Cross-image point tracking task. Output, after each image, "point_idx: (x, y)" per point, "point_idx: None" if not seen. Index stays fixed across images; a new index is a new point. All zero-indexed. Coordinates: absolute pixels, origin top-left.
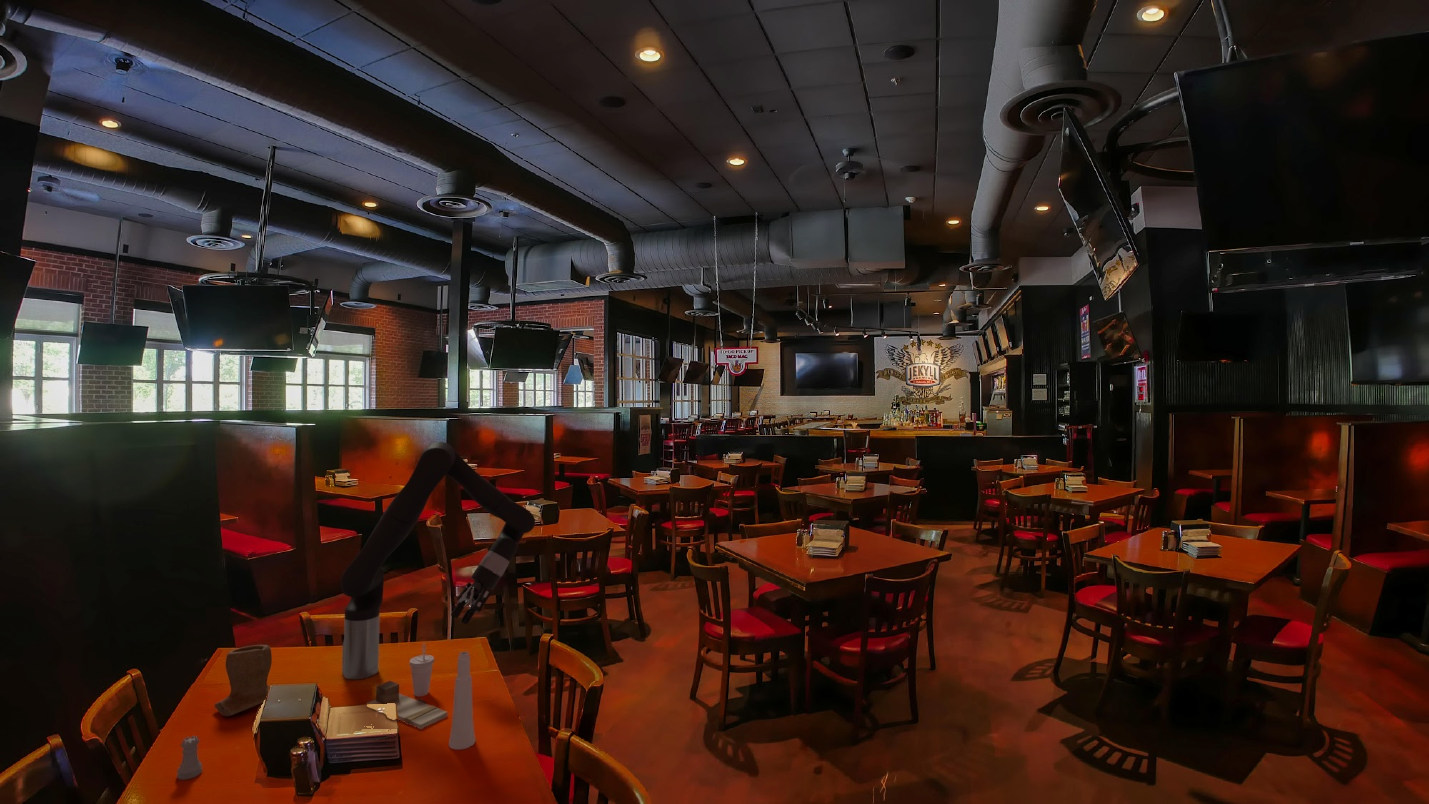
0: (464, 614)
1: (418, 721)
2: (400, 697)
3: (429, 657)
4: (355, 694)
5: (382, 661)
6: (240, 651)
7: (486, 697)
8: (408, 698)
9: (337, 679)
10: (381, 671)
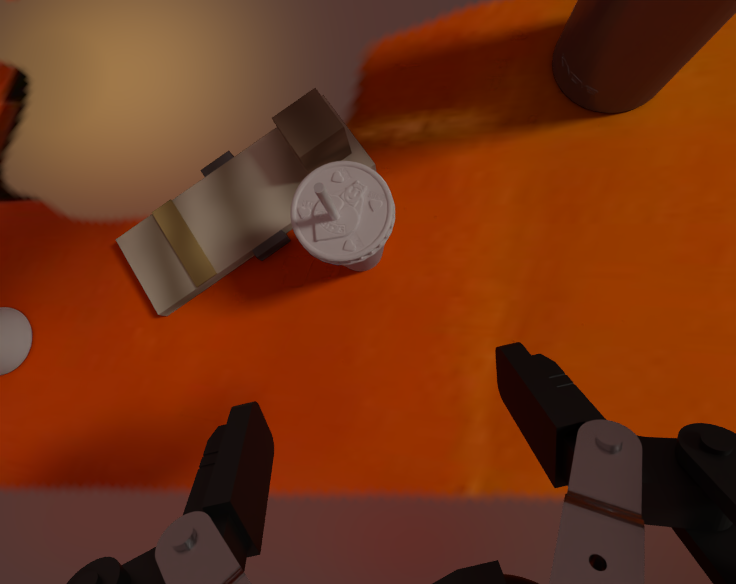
0: (233, 449)
1: (137, 234)
2: None
3: (348, 241)
4: (433, 66)
5: (712, 121)
6: None
7: None
8: None
9: None
10: (606, 124)
